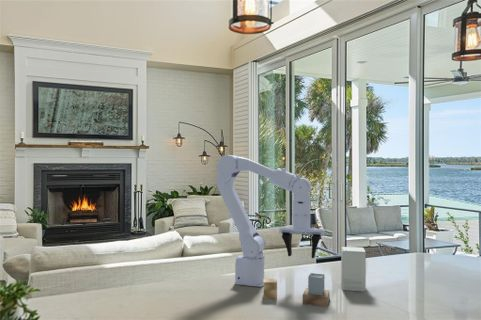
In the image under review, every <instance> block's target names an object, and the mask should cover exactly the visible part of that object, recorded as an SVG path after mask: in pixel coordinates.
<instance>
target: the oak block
mask: <svg viewBox="0 0 481 320" xmlns="http://www.w3.org/2000/svg"><path fill="white" fill-rule="evenodd" d="M263 299H264V300H278V279H277V278H265V277H264V285H263Z"/></svg>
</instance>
